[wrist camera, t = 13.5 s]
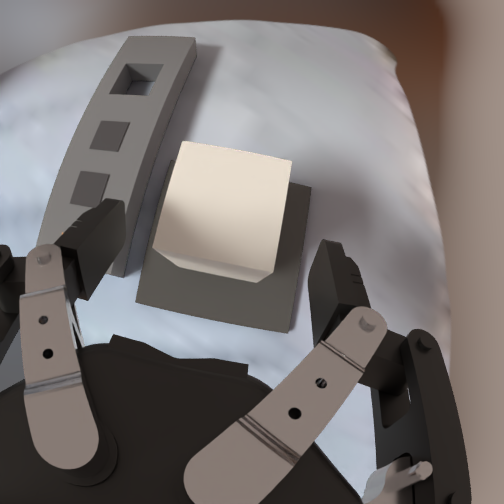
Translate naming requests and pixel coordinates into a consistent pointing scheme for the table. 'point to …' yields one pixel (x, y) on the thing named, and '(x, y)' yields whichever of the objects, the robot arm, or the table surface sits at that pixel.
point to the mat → (229, 289)
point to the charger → (223, 211)
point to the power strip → (119, 137)
